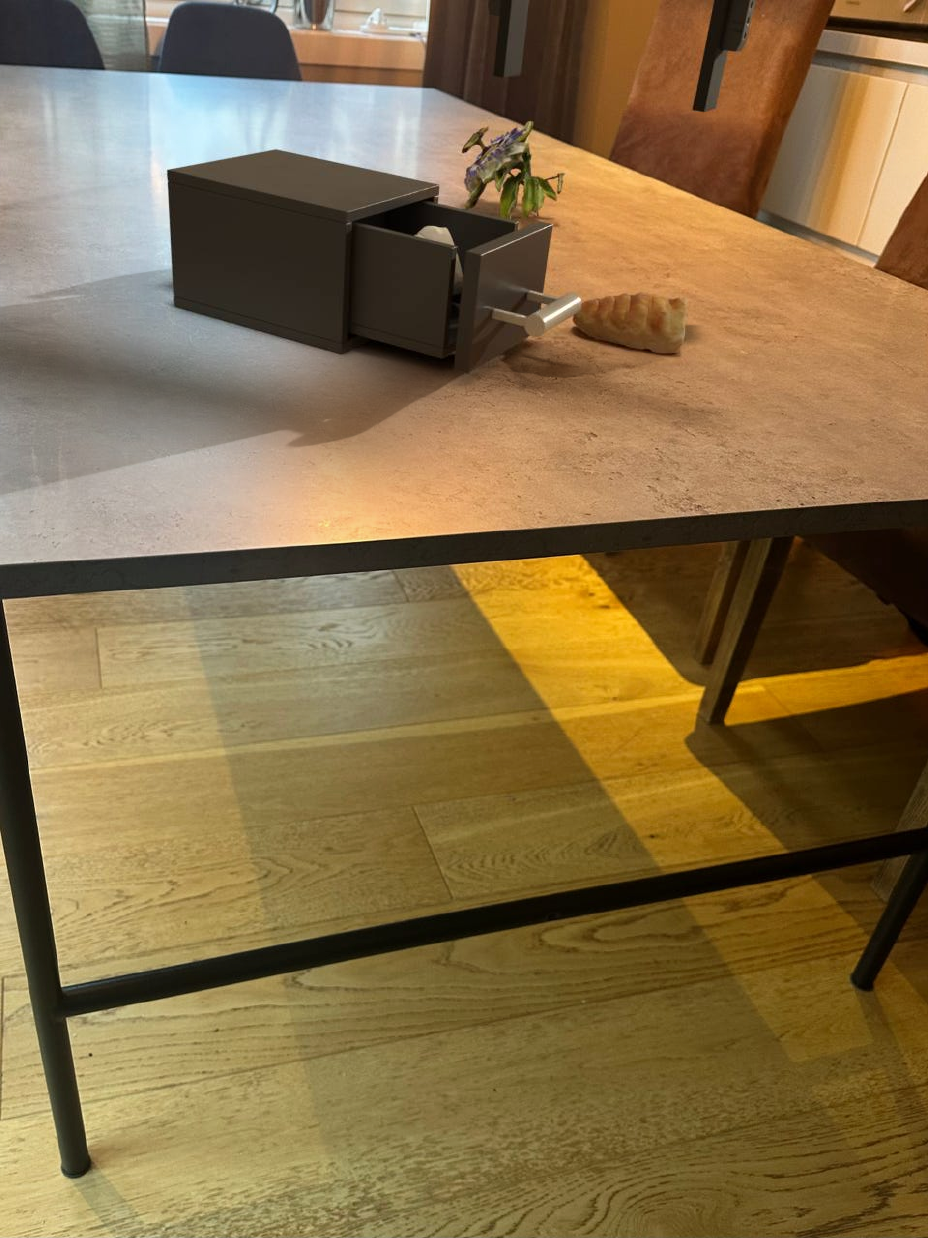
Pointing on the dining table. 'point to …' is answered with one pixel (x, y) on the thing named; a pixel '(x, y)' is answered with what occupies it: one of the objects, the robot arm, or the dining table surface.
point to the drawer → (451, 283)
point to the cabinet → (276, 240)
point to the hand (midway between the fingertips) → (602, 92)
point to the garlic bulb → (445, 237)
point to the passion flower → (507, 172)
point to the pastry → (635, 321)
